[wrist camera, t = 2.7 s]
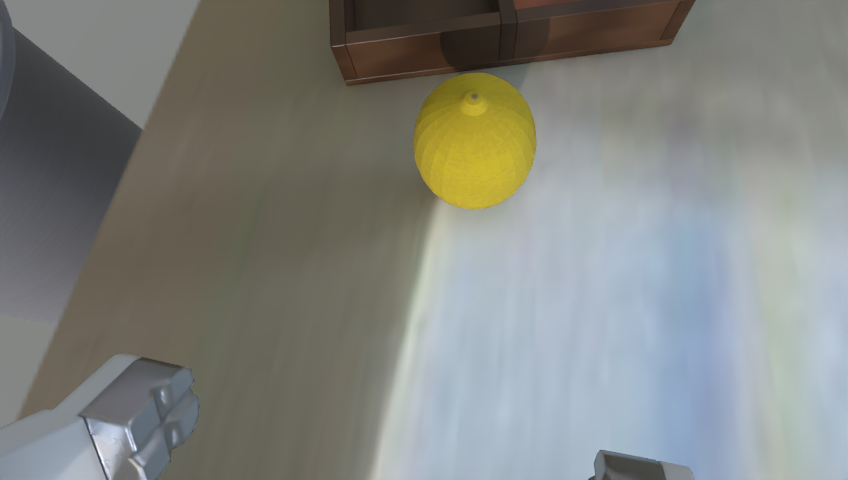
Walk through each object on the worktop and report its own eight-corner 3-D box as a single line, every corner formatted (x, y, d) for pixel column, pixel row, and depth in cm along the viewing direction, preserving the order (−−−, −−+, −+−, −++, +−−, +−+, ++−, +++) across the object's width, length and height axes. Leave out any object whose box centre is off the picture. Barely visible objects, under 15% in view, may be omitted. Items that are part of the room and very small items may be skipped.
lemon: (484, 250, 26) (488, 190, 18) (401, 189, 27) (373, 110, 20) (548, 170, 27) (577, 81, 19) (465, 116, 28) (461, 12, 20)
